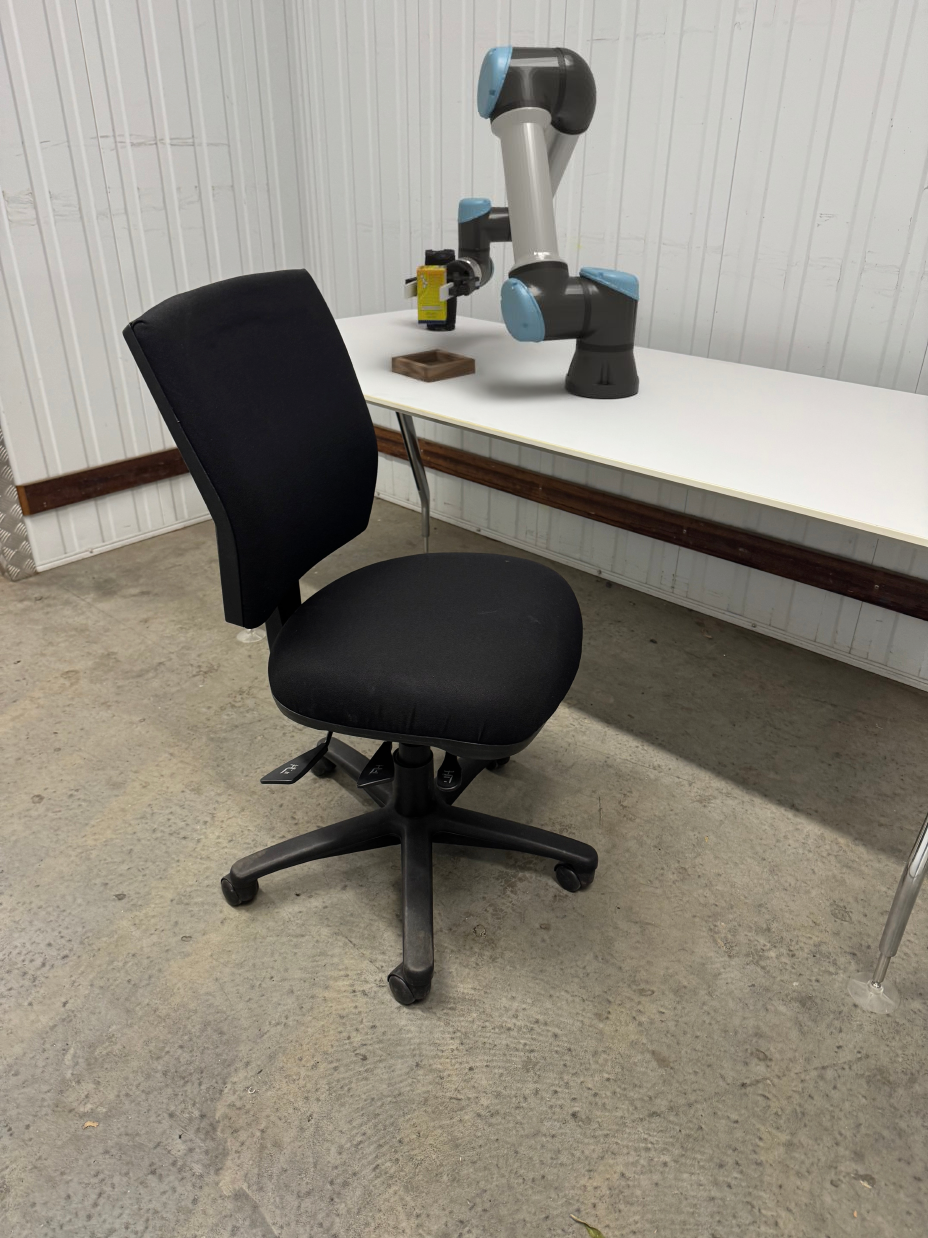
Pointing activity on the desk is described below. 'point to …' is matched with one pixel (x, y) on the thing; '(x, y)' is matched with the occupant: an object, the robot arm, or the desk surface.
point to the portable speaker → (441, 260)
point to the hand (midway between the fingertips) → (423, 292)
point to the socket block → (433, 365)
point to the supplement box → (431, 295)
